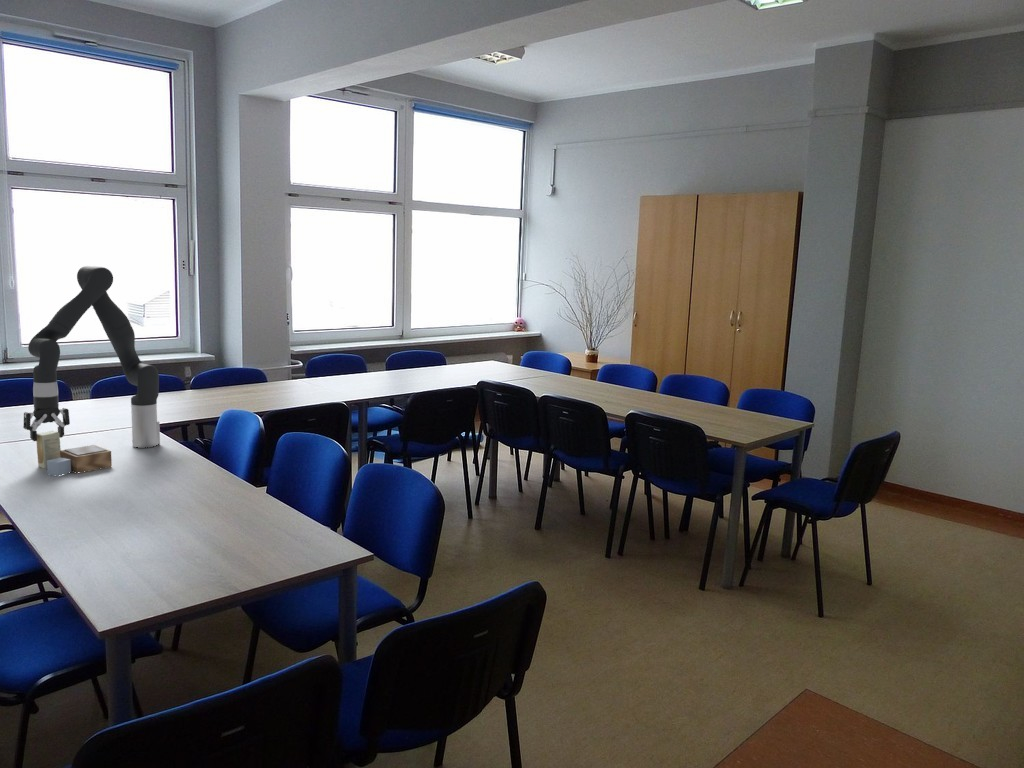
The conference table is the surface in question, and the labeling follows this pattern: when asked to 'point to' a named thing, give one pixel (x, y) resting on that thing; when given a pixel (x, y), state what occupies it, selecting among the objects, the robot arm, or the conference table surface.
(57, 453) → the skincare box
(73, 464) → the walnut base
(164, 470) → the conference table surface
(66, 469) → the slate cube
